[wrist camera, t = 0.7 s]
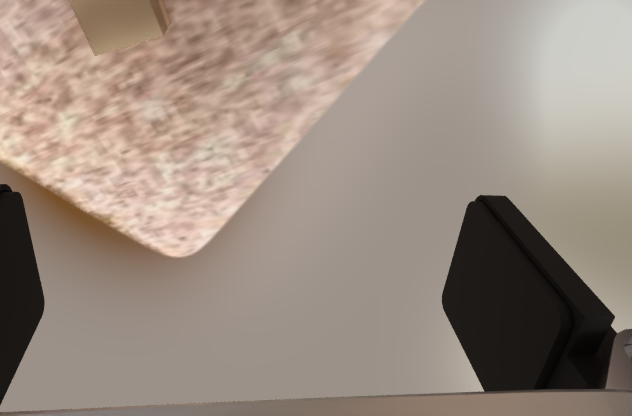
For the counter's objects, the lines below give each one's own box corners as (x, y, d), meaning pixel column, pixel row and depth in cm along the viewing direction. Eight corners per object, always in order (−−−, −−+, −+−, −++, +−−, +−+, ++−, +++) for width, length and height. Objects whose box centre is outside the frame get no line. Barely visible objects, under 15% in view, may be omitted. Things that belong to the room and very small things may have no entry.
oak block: (79, -27, 30) (59, -19, 27) (145, -46, 30) (133, -41, 27) (109, 40, 32) (95, 56, 29) (171, 22, 32) (163, 36, 29)
